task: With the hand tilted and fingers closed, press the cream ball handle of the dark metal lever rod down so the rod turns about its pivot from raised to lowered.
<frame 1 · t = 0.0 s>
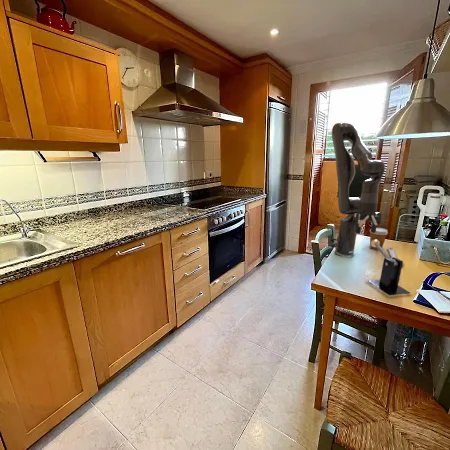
hand: (365, 232, 125), 17 cm above the table, tool pointing down, fingers open, 8 cm apart
lever: (383, 252, 106), point 15 cm above the table, hinge at 25.0°
bracket: (387, 288, 105), on the table
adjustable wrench: (394, 258, 137), on the table
disposable coffee cup: (375, 248, 151), on the table
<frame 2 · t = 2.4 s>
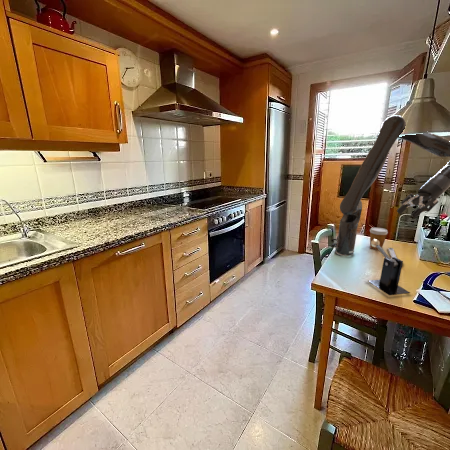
hand: (405, 214, 109), 30 cm above the table, tool tilted 40°, fingers open, 8 cm apart
nothing on the table moved.
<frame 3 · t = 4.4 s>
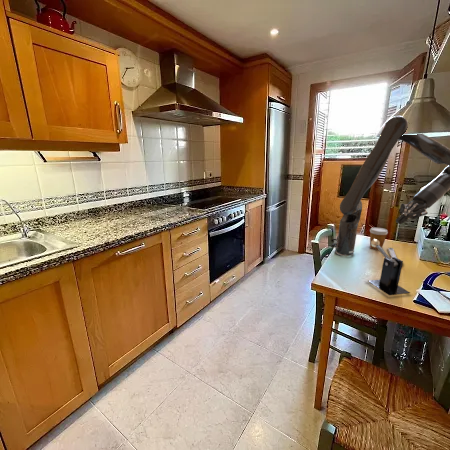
hand: (397, 222, 109), 26 cm above the table, tool tilted 45°, fingers closed
nothing on the table moved.
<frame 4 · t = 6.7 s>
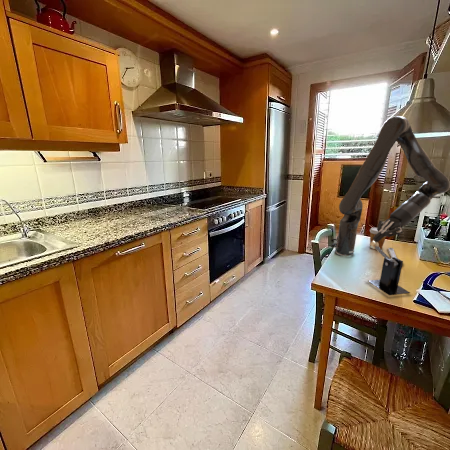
hand: (375, 240, 111), 18 cm above the table, tool tilted 45°, fingers closed
lever: (382, 253, 107), point 14 cm above the table, hinge at 20.2°, touching gripper
everything else where it was.
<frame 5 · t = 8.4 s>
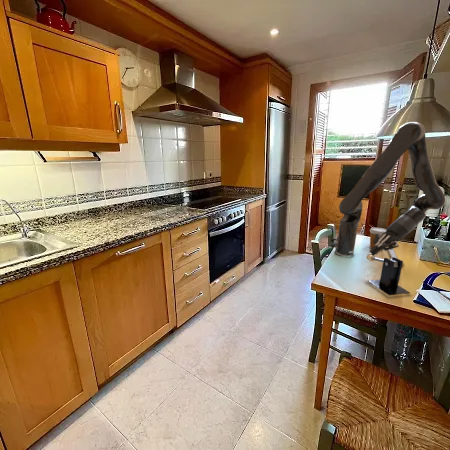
hand: (371, 253, 113), 12 cm above the table, tool tilted 45°, fingers closed
lever: (380, 260, 108), point 11 cm above the table, hinge at -12.0°, touching gripper
everything else where it was.
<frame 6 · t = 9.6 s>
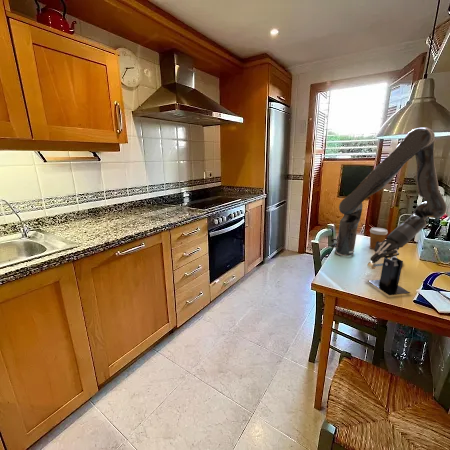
hand: (372, 260, 113), 8 cm above the table, tool tilted 45°, fingers closed
lever: (381, 264, 108), point 9 cm above the table, hinge at -29.6°, touching gripper
everything else where it was.
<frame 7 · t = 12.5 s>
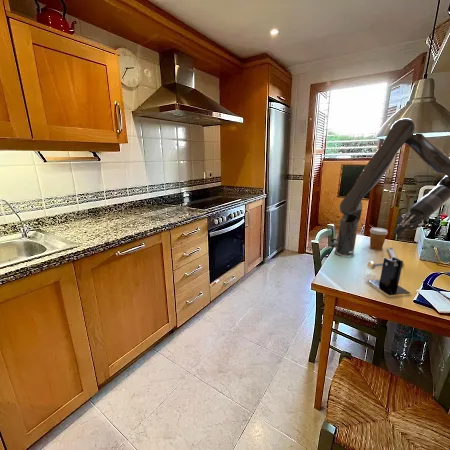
hand: (395, 233, 110), 21 cm above the table, tool tilted 45°, fingers closed
lever: (381, 264, 108), point 9 cm above the table, hinge at -29.7°
everything else where it was.
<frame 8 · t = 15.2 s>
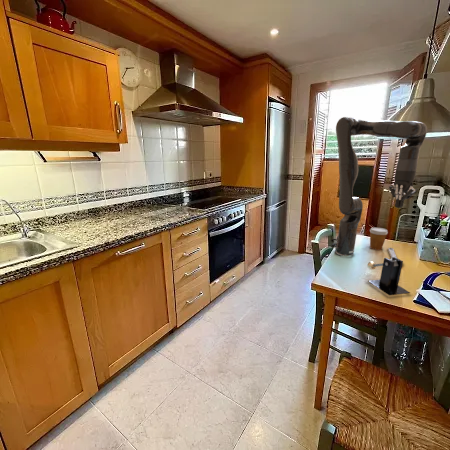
hand: (398, 207, 114), 32 cm above the table, tool pointing down, fingers closed
nothing on the table moved.
at the end: lever at -30° (first picture: +25°); lever reached +25° during the clip, -30° at the end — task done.
